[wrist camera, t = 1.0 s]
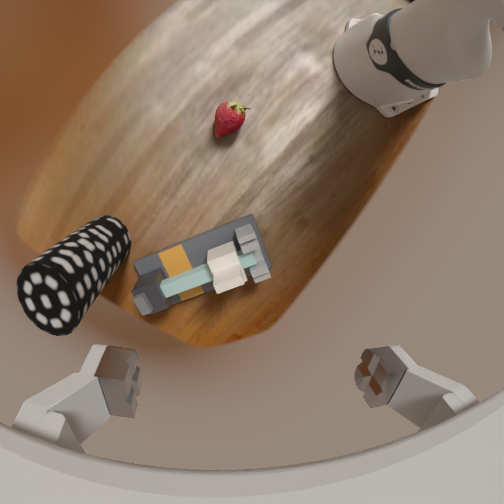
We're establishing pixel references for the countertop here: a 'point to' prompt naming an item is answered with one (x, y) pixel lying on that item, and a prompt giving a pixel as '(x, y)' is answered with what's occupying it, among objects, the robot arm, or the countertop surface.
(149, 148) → the countertop surface
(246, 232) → the gray notched block
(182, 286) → the pale teal rod
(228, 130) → the fruit
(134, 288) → the block
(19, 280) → the white-spotted black cylinder
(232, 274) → the sleeve
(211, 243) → the board
